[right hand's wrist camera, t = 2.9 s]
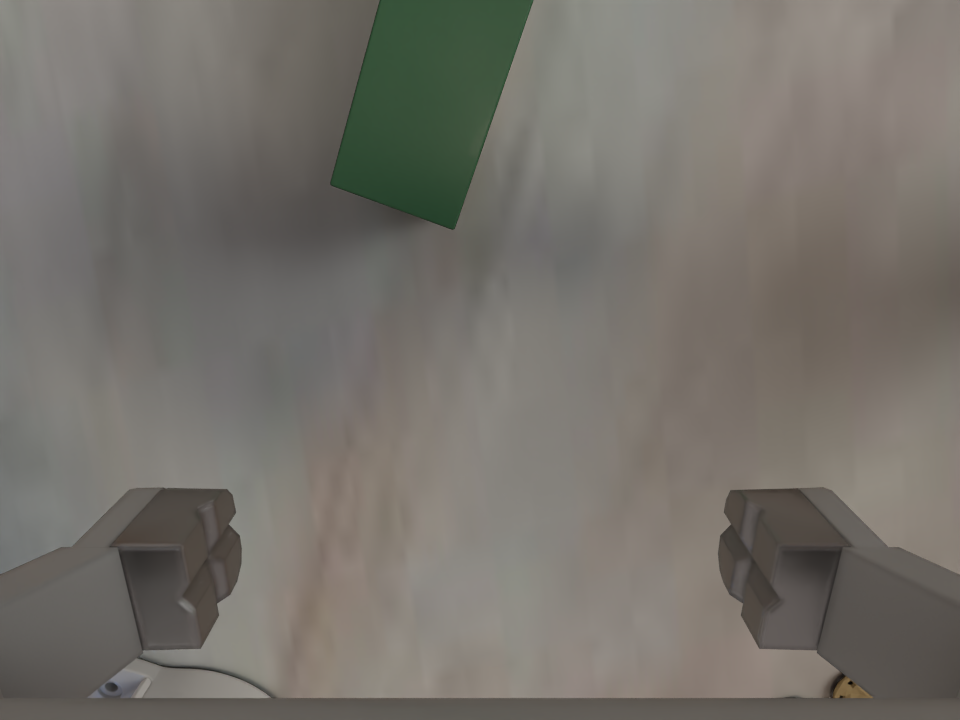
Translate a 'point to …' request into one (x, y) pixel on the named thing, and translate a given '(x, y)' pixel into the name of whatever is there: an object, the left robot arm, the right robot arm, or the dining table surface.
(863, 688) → the right robot arm
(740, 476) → the dining table surface
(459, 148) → the elongated green cuboid
